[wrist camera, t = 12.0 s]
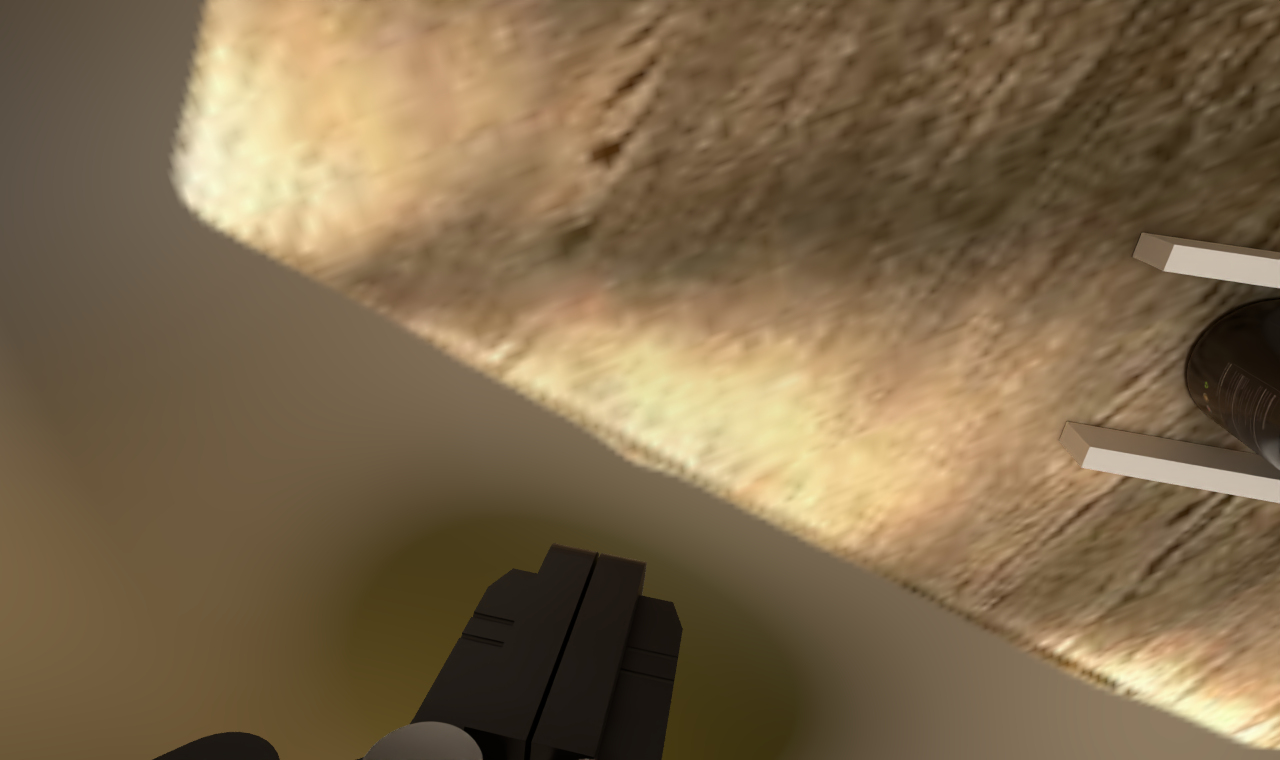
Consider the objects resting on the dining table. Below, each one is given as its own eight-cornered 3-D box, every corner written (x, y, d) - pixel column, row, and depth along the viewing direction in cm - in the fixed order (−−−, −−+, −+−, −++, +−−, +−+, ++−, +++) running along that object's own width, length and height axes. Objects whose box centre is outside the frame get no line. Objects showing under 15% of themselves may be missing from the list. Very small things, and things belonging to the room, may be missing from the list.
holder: (1141, 232, 34) (1220, 261, 28) (1443, 276, 33) (1593, 316, 27) (1058, 441, 39) (1111, 504, 33) (1321, 487, 37) (1426, 562, 31)
